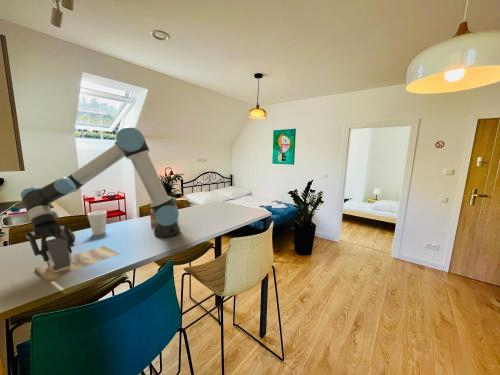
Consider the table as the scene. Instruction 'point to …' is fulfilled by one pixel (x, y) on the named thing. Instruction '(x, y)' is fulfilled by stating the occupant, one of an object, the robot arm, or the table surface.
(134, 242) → the table surface
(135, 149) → the robot arm
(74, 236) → the vase
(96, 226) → the foam cup
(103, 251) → the board
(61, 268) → the block
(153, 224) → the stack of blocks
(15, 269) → the table surface
